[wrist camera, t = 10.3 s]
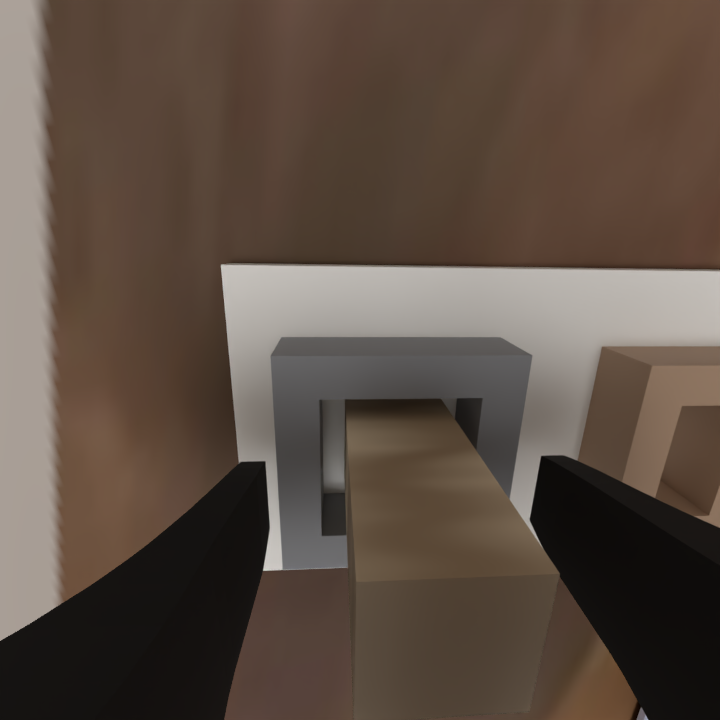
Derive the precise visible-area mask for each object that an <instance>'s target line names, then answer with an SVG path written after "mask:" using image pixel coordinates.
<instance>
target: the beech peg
mask: <svg viewBox="0 0 720 720" xmlns="http://www.w3.org/2000/svg"><path fill="white" fill-rule="evenodd" d="M344 480H345V506H346V533H347V560H348V586H349V613H350V640H351V666H352V693H353V720H414V719H430V718H445V717H461V716H476V715H492V714H507V713H523V712H529V711H530V707H531V702H532V698H533V693H534V689H535V684H536V680H537V675H538V671H539V666H540V662H541V657H542V653H543V648H544V644H545V639H546V635H547V630H548V626H549V621H550V617H551V613H552V608H553V604H554V599H555V595H556V590H557V586H558V581H559V577H560V573H559V571H558V570H557V569H556V567H555V566H554V564H553V563H552V561H551V560H550V558H549V557H548V555H547V554H546V552H545V551H544V549H543V548H542V546H541V545H540V544H539V542H538V541H537V539H536V538H535V536H534V535H533V533H532V532H531V530H530V529H529V527H528V526H527V524H526V523H525V521H524V520H523V519H522V517H521V516H520V514H519V513H518V511H517V510H516V508H515V507H514V505H513V504H512V502H511V501H510V499H509V498H508V497H507V495H506V494H505V492H504V491H503V489H502V488H501V486H500V485H499V483H498V482H497V480H496V479H495V477H494V476H493V474H492V473H491V472H490V470H489V469H488V467H487V466H486V464H485V463H484V461H483V460H482V458H481V457H480V455H479V454H478V452H477V451H476V449H475V448H474V447H473V445H472V444H471V442H470V441H469V439H468V438H467V436H466V435H465V433H464V432H463V430H462V429H461V427H460V426H459V424H458V423H457V422H456V420H455V419H454V417H453V416H452V414H451V413H450V411H449V410H448V408H447V407H446V405H445V404H444V402H443V401H442V400H441V399H345V441H344Z"/></svg>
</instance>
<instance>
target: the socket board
mask: <svg viewBox="0 0 720 720" xmlns="http://www.w3.org/2000/svg"><path fill="white" fill-rule="evenodd" d="M221 272H222V283H223V294H224V305H225V316H226V327H227V338H228V349H229V360H230V371H231V382H232V392H233V403H234V414H235V425H236V436H237V447H238V458H239V463H240V462H247V461H265V462H266V477H267V492H268V506H269V521H270V531H269V537H268V544H267V550H266V556H265V562H264V568H263V571H269V570H294V569H320V568H346V567H348V560H347V533H346V506H345V480H344V441H345V399H441V400H442V401H443V402H444V404H445V405H446V407H447V408H448V410H449V411H450V413H451V414H452V416H453V417H454V419H455V420H456V422H457V423H458V424H459V426H460V427H461V429H462V430H463V432H464V433H465V435H466V436H467V438H468V439H469V441H470V442H471V444H472V445H473V447H474V448H475V449H476V451H477V452H478V454H479V455H480V457H481V458H482V460H483V461H484V463H485V464H486V466H487V467H488V469H489V470H490V472H491V473H492V474H493V476H494V477H495V479H496V480H497V482H498V483H499V485H500V486H501V488H502V489H503V491H504V492H505V494H506V495H507V497H508V498H509V499H510V501H511V502H512V504H513V505H514V507H515V508H516V510H517V511H518V513H519V514H520V516H521V517H522V519H523V520H524V521H525V523H526V524H527V526H528V527H529V529H530V530H531V532H532V533H533V535H534V536H535V538H536V539H537V541H538V542H539V544H540V545H541V543H540V541H539V539H538V537H537V535H536V533H535V531H534V529H533V527H532V524H531V522H530V514H531V509H532V503H533V498H534V492H535V487H536V481H537V476H538V470H539V464H540V459H541V456H548V455H564V456H567V457H570V458H572V459H575V460H577V461H579V462H581V463H584V464H586V465H588V466H590V467H592V468H594V469H597V470H599V471H601V472H603V473H605V474H607V475H609V476H611V477H613V478H615V479H617V480H619V481H621V482H623V483H625V484H627V485H629V486H631V487H633V488H635V489H637V490H639V491H641V492H643V493H645V494H648V495H650V496H652V497H654V498H656V499H658V500H660V501H662V502H664V503H666V504H668V505H670V506H673V507H675V508H677V509H679V510H681V511H683V512H685V513H688V514H690V515H692V516H694V517H697V518H699V519H701V520H703V521H705V522H708V523H710V524H712V525H714V526H717V527H719V528H720V270H711V269H635V268H560V267H485V266H409V265H334V264H258V263H228V264H223V265H221ZM541 546H542V545H541ZM542 548H543V547H542Z"/></svg>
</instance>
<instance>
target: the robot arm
mask: <svg viewBox="0 0 720 720" xmlns="http://www.w3.org/2000/svg"><path fill="white" fill-rule="evenodd" d="M530 522H531V524H532V527H533V529H534V531H535V533H536V535H537V537H538V539H539V541H540V543H541V545H542V547H543V549H544V551H545V552H546V554H547V555H548V557H549V558H550V560H551V561H552V563H553V564H554V566H555V567H556V569H557V570H558V571H559V573H560V577H561V579H562V580H563V582H564V584H565V585H566V587H567V588H568V590H569V591H570V593H571V594H572V596H573V597H574V599H575V600H576V602H577V603H578V605H579V606H580V608H581V609H582V611H583V612H584V614H585V615H586V617H587V618H588V620H589V621H590V623H591V624H592V626H593V628H594V629H595V631H596V632H597V634H598V635H599V637H600V638H601V640H602V641H603V643H604V644H605V646H606V647H607V649H608V650H609V652H610V653H611V655H612V657H613V658H614V660H615V662H616V663H617V665H618V666H619V668H620V670H621V671H622V673H623V675H624V676H625V678H626V680H627V682H628V684H629V686H630V687H631V689H632V691H633V693H634V695H635V696H636V698H637V700H638V702H639V704H640V706H641V708H640V711H639V714H638V717H637V720H720V528H719V527H717V526H714V525H712V524H710V523H708V522H705V521H703V520H701V519H699V518H697V517H694V516H692V515H690V514H688V513H685V512H683V511H681V510H679V509H677V508H675V507H673V506H670V505H668V504H666V503H664V502H662V501H660V500H658V499H656V498H654V497H652V496H650V495H648V494H645V493H643V492H641V491H639V490H637V489H635V488H633V487H631V486H629V485H627V484H625V483H623V482H621V481H619V480H617V479H615V478H613V477H611V476H609V475H607V474H605V473H603V472H601V471H599V470H597V469H594V468H592V467H590V466H588V465H586V464H584V463H581V462H579V461H577V460H575V459H572V458H570V457H567V456H564V455H548V456H541V459H540V464H539V470H538V476H537V481H536V487H535V492H534V498H533V503H532V509H531V514H530ZM269 531H270V521H269V506H268V492H267V477H266V462H265V461H247V462H240V463H239V464H238V465H237V466H236V467H235V468H234V469H232V470H231V471H230V472H229V473H228V474H227V475H226V476H225V477H224V478H223V479H222V480H221V481H220V482H219V483H218V484H217V485H216V486H215V487H213V488H212V489H211V490H210V491H209V492H208V493H207V494H206V495H205V496H204V497H203V498H202V499H201V500H199V501H198V502H197V503H196V504H195V505H194V506H193V507H192V508H191V509H190V510H188V511H187V512H186V513H185V514H184V515H183V516H181V517H180V518H179V519H178V520H177V521H175V522H174V523H173V524H172V525H171V526H169V527H168V528H167V529H166V530H165V531H163V532H162V533H161V534H160V535H159V536H157V537H156V538H155V539H154V540H153V541H151V542H150V543H149V544H148V545H146V546H145V547H144V548H142V549H141V550H140V551H138V552H137V553H136V554H134V555H133V556H132V557H130V558H129V559H128V560H126V561H125V562H124V563H122V564H121V565H119V566H118V567H116V568H115V569H114V570H112V571H111V572H109V573H108V574H107V575H105V576H104V577H102V578H101V579H99V580H98V581H96V582H95V583H94V584H92V585H91V586H89V587H88V588H86V589H84V590H83V591H81V592H80V593H78V594H76V595H75V596H73V597H72V598H70V599H68V600H67V601H65V602H64V603H62V604H61V605H59V606H57V607H56V608H54V609H53V610H51V611H50V612H48V613H46V614H45V615H43V616H41V617H40V618H38V619H37V620H35V621H34V622H32V623H30V624H29V625H27V626H25V627H24V628H22V629H20V630H19V631H17V632H15V633H13V634H12V635H10V636H8V637H6V638H5V639H3V640H1V641H0V720H224V717H225V712H226V707H227V702H228V697H229V693H230V689H231V684H232V680H233V676H234V672H235V668H236V665H237V661H238V658H239V654H240V651H241V647H242V643H243V640H244V636H245V633H246V629H247V626H248V622H249V619H250V615H251V612H252V608H253V604H254V601H255V597H256V594H257V590H258V586H259V583H260V579H261V575H262V572H263V568H264V562H265V556H266V550H267V544H268V537H269Z"/></svg>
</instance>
